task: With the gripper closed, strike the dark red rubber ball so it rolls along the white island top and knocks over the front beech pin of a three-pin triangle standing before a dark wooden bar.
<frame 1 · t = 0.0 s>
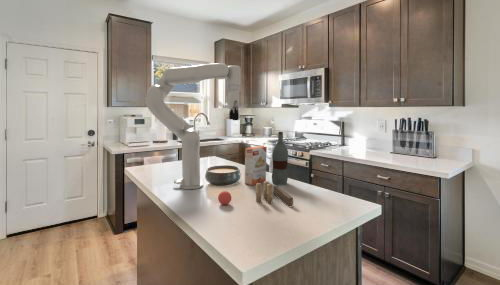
hand: (233, 119, 158), 37 cm above the countertop, tool pointing down, fingers open, 9 cm apart
right back pin: (269, 202, 131), on the countertop
dark wooden bar: (282, 199, 136), on the countertop
front pin: (258, 201, 133), on the countertop
bottle: (279, 183, 165), on the countertop
cracker box: (255, 182, 166), on the countertop
left back pin: (266, 199, 136), on the countertop
ball: (224, 197, 128), on the countertop
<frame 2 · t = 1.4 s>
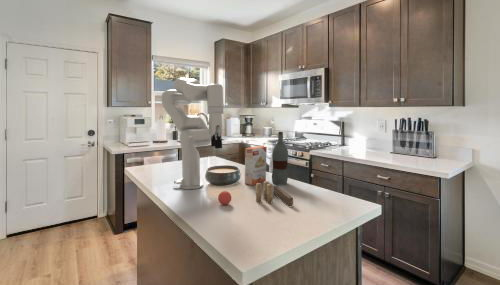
hand: (216, 147, 135), 25 cm above the countertop, tool pointing down, fingers open, 9 cm apart
nothing on the countertop moved.
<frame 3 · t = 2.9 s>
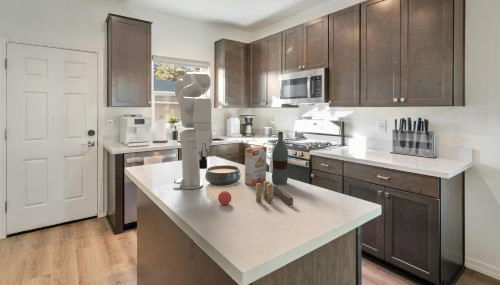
hand: (203, 168, 124), 17 cm above the countertop, tool pointing down, fingers closed
nothing on the countertop moved.
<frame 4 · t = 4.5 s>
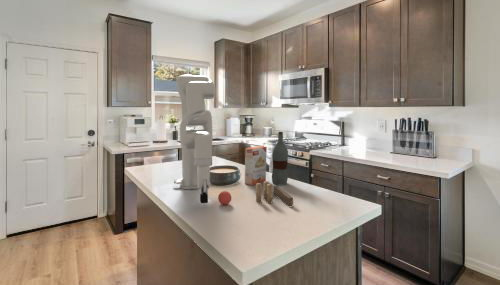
hand: (204, 202, 126), 2 cm above the countertop, tool pointing down, fingers closed
nothing on the countertop moved.
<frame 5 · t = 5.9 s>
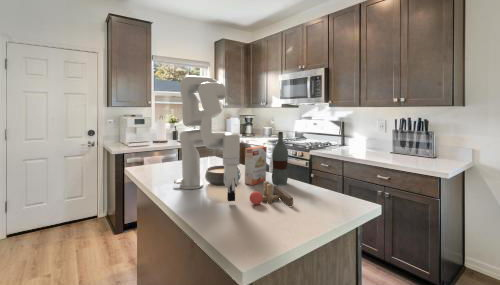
hand: (231, 200, 129), 2 cm above the countertop, tool pointing down, fingers closed
front pin: (261, 199, 133), point 1 cm above the countertop, tilted 90°
ball: (256, 197, 128), on the countertop
everything else where it was.
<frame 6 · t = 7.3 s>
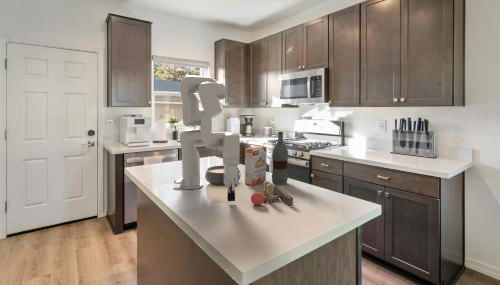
hand: (231, 200, 129), 2 cm above the countertop, tool pointing down, fingers closed
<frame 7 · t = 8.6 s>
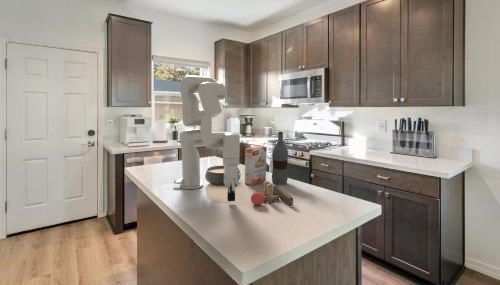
hand: (231, 200, 129), 2 cm above the countertop, tool pointing down, fingers closed
nothing on the countertop moved.
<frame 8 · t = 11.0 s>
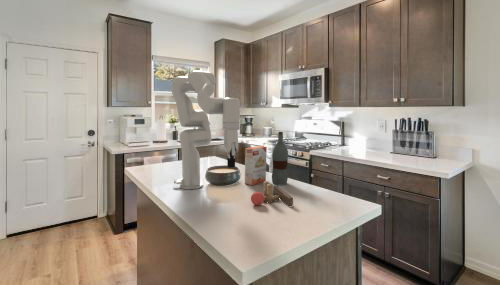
hand: (231, 167, 127), 17 cm above the countertop, tool pointing down, fingers closed
nothing on the countertop moved.
at the end: front pin tilted 90°; front pin never touched the robot; ball moved 14.8 cm from its start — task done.
